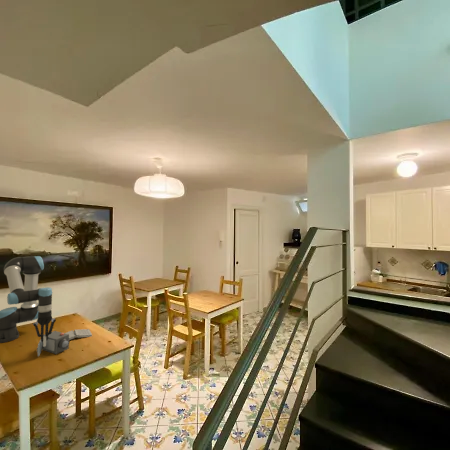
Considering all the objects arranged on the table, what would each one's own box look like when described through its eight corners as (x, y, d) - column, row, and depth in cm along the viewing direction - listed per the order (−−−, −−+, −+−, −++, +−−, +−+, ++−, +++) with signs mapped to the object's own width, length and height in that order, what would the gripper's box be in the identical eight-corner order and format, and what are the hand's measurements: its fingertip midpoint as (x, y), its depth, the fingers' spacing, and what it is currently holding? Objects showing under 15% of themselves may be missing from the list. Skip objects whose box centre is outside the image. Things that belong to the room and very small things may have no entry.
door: (40, 348, 175) (40, 337, 175) (42, 347, 176) (43, 337, 176) (36, 356, 163) (36, 345, 164) (39, 356, 164) (39, 344, 164)
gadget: (58, 344, 186) (58, 339, 186) (56, 337, 198) (57, 333, 198) (92, 336, 199) (92, 332, 200) (89, 330, 211) (89, 326, 212)
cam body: (41, 349, 176) (41, 334, 176) (54, 344, 184) (55, 329, 185) (58, 355, 168) (58, 338, 169) (71, 349, 177) (71, 333, 177)
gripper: (34, 314, 162) (33, 350, 161) (57, 309, 172) (56, 344, 171) (32, 311, 168) (31, 347, 167) (54, 307, 177) (54, 341, 176)
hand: (44, 345), depth 169 cm, fingers closed
